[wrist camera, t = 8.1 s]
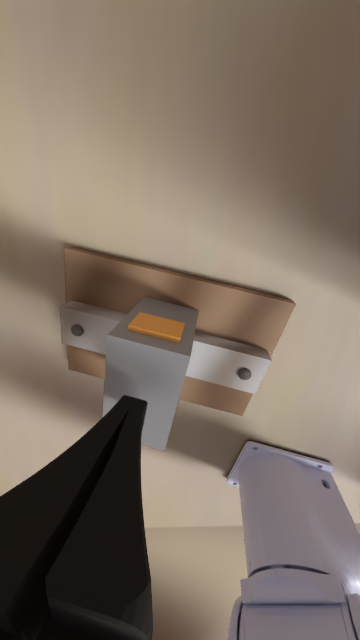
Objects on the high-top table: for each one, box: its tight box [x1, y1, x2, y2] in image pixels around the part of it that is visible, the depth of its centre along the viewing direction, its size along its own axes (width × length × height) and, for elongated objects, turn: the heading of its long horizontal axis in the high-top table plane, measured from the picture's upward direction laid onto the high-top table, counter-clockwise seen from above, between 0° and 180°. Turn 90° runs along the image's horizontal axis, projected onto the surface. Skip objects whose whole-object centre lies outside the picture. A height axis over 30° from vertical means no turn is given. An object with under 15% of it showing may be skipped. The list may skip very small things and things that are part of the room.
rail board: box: [60, 247, 296, 416], centre depth 18 cm, size 18×12×3 cm, turn 78°
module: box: [102, 297, 199, 451], centre depth 15 cm, size 4×8×6 cm, turn 168°
